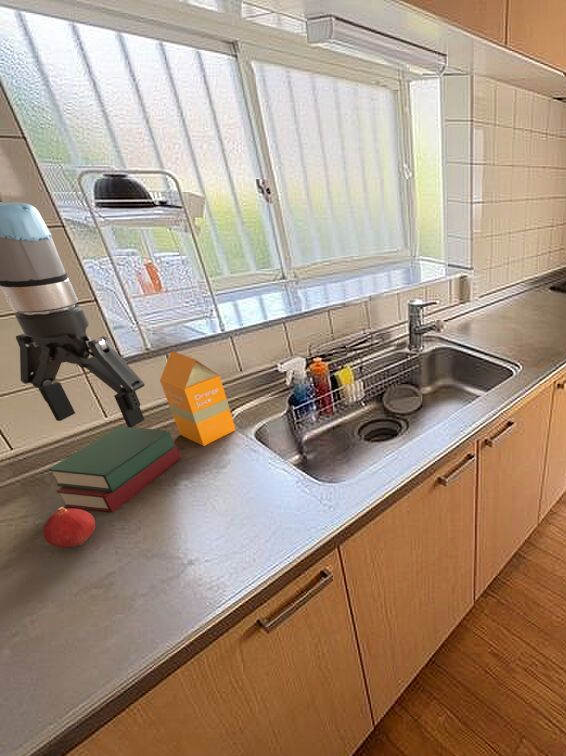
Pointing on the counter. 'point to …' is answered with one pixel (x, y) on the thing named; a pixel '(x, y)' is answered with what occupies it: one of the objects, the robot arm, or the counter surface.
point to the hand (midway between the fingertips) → (101, 420)
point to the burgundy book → (121, 495)
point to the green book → (113, 459)
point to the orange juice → (196, 399)
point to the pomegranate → (68, 527)
